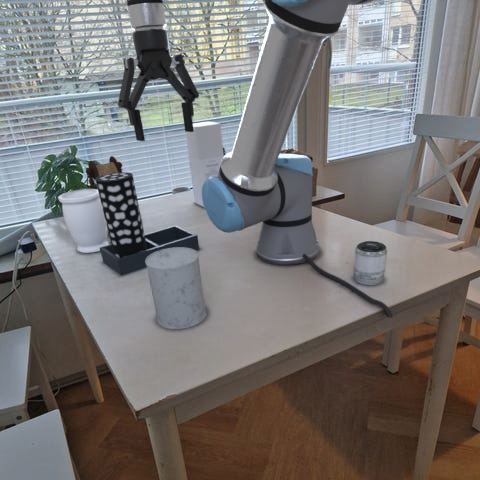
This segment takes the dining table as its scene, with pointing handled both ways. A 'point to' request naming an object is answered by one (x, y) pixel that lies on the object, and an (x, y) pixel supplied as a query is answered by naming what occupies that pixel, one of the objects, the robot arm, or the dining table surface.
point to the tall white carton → (204, 155)
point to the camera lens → (370, 262)
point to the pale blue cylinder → (176, 287)
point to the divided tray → (150, 248)
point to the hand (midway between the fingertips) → (165, 136)
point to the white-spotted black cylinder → (122, 213)
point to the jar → (85, 219)
